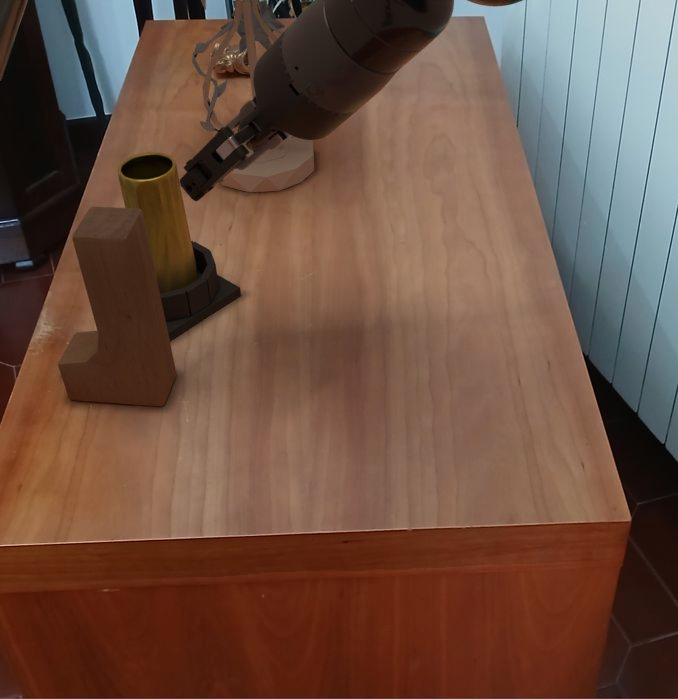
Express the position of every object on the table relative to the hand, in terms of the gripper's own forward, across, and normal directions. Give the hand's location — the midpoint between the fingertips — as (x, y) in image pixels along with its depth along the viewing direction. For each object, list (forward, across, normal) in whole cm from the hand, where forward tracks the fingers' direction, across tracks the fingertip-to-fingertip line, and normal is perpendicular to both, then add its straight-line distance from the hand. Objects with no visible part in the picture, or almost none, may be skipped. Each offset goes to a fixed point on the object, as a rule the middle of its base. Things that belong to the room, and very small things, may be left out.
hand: (221, 167), depth 78 cm
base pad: (+19, 0, +6) cm, 20 cm away
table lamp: (+24, -26, +1) cm, 36 cm away
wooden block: (+16, +12, +10) cm, 22 cm away
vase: (+18, 0, +6) cm, 19 cm away
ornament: (+38, -46, -13) cm, 61 cm away
